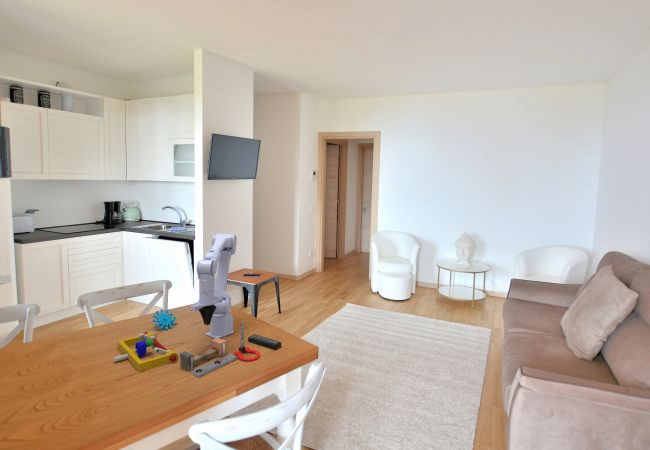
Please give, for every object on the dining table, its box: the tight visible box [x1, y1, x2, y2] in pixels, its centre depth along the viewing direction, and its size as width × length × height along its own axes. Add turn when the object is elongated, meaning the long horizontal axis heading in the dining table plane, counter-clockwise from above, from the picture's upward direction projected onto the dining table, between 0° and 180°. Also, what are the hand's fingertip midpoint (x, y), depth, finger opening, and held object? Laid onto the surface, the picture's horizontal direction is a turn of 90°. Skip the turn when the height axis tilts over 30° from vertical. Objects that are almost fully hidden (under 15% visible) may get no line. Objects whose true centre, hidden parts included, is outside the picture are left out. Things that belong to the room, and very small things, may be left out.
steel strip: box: [191, 353, 238, 378], centre depth 143 cm, size 17×4×1 cm, turn 144°
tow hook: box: [233, 321, 261, 363], centre depth 150 cm, size 8×13×9 cm
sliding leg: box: [210, 338, 227, 358], centre depth 152 cm, size 3×6×5 cm, turn 54°
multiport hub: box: [247, 333, 282, 351], centre depth 162 cm, size 4×14×2 cm, turn 59°
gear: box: [152, 308, 178, 331], centre depth 177 cm, size 11×6×10 cm
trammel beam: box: [179, 348, 219, 372], centre depth 146 cm, size 17×6×5 cm, turn 144°
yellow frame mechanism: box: [113, 331, 179, 373], centre depth 150 cm, size 18×6×30 cm
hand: (207, 324), depth 155 cm, fingers closed
